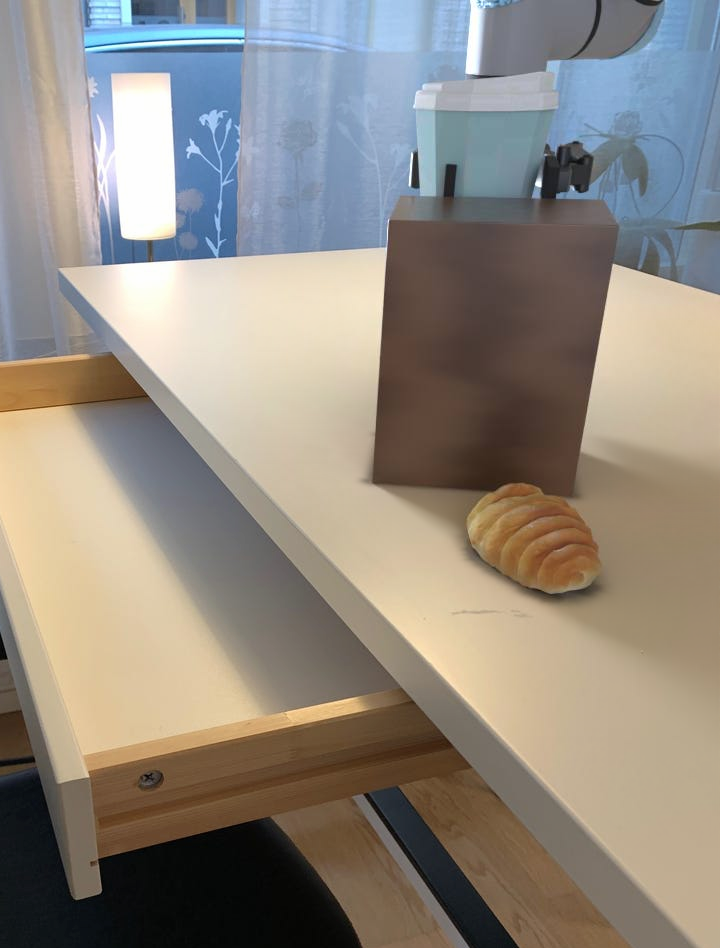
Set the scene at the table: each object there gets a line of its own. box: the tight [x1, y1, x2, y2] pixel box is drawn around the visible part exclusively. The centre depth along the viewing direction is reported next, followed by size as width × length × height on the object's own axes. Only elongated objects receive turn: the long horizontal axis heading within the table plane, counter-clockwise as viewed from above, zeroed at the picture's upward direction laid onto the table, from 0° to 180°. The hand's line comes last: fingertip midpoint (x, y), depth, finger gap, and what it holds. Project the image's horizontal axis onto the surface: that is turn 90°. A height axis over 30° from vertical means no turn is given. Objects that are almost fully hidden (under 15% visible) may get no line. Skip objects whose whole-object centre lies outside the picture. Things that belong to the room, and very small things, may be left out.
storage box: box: [371, 195, 620, 498], centre depth 78 cm, size 14×24×18 cm, turn 168°
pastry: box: [466, 483, 603, 595], centre depth 62 cm, size 9×7×4 cm
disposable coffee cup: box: [412, 71, 560, 198], centre depth 77 cm, size 11×11×15 cm
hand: (500, 186), depth 73 cm, fingers open, 6 cm apart
